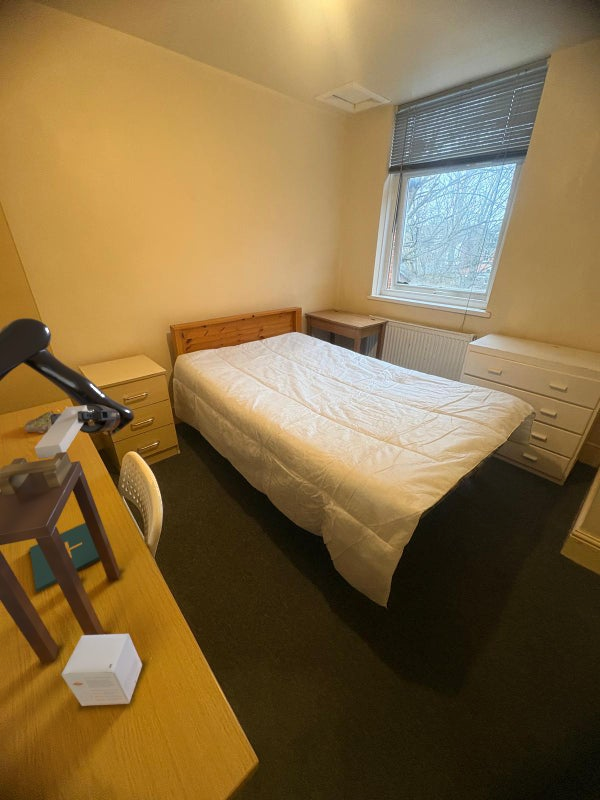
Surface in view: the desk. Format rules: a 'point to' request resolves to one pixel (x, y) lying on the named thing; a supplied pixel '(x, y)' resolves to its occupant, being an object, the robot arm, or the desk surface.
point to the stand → (48, 542)
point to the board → (78, 549)
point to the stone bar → (60, 433)
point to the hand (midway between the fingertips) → (67, 417)
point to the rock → (40, 423)
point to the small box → (103, 669)
